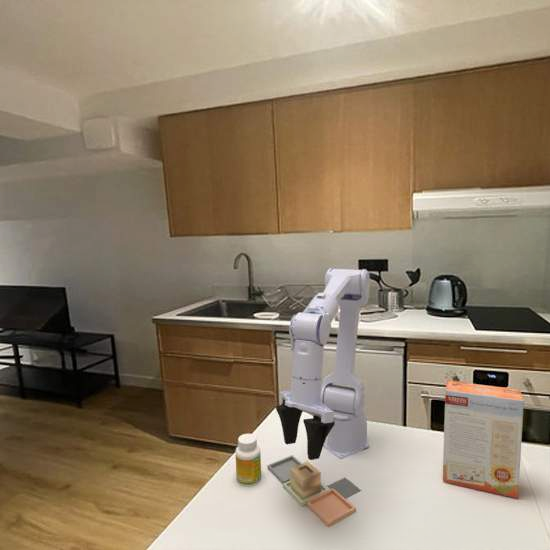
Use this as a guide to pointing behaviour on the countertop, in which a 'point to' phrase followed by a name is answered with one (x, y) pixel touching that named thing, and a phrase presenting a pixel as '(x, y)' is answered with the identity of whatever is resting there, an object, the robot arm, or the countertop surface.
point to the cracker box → (483, 437)
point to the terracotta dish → (331, 507)
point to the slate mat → (344, 488)
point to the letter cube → (305, 480)
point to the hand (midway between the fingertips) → (301, 450)
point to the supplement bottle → (248, 461)
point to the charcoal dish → (283, 468)
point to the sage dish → (302, 502)
